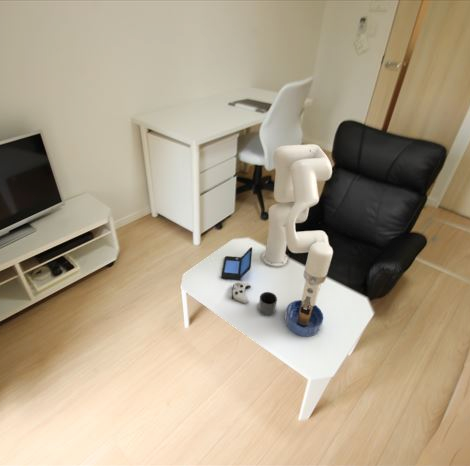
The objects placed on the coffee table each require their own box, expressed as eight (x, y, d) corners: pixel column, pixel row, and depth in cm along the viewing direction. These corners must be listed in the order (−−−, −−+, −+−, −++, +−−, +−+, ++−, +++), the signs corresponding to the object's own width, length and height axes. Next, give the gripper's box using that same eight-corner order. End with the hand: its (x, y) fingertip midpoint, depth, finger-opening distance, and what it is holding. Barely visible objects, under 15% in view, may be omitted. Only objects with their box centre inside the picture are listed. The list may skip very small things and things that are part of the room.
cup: (261, 301, 137) (263, 289, 133) (277, 306, 134) (279, 295, 130) (256, 312, 132) (257, 301, 128) (272, 318, 129) (274, 307, 125)
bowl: (289, 304, 135) (291, 295, 132) (323, 316, 130) (326, 307, 126) (280, 329, 125) (282, 320, 122) (316, 343, 120) (319, 334, 117)
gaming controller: (249, 303, 134) (238, 294, 132) (238, 309, 138) (228, 299, 136) (252, 285, 143) (241, 275, 141) (241, 290, 146) (231, 281, 144)
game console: (224, 257, 160) (225, 243, 155) (251, 260, 158) (252, 246, 153) (220, 279, 148) (221, 264, 142) (249, 282, 146) (250, 267, 140)
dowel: (298, 314, 129) (303, 294, 122) (309, 318, 127) (315, 298, 120) (296, 322, 126) (301, 302, 119) (307, 326, 124) (312, 306, 117)
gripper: (321, 293, 104) (311, 328, 115) (330, 263, 116) (320, 297, 127) (298, 286, 107) (290, 320, 118) (309, 257, 119) (301, 290, 130)
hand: (306, 308), depth 122 cm, fingers closed on dowel, 4 cm apart
